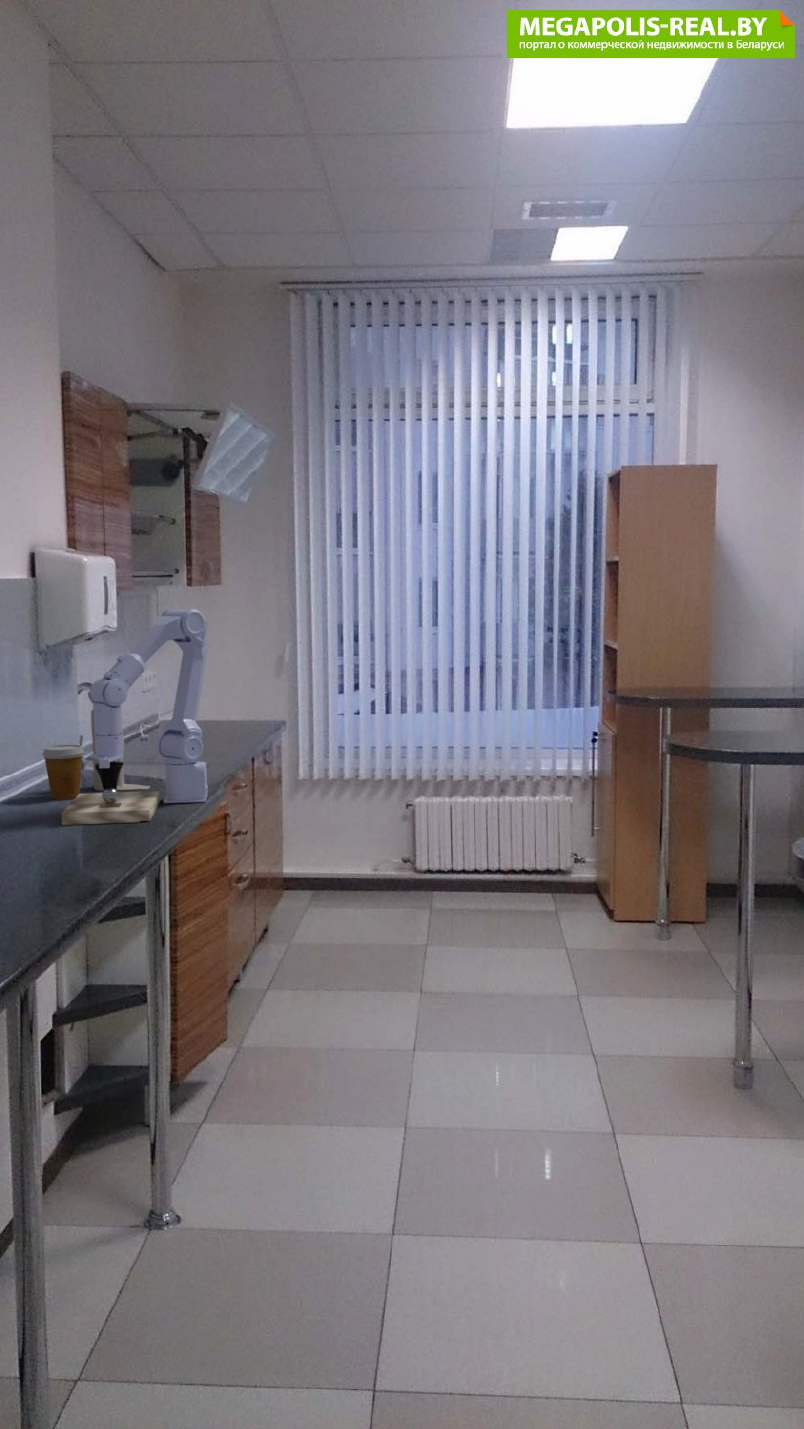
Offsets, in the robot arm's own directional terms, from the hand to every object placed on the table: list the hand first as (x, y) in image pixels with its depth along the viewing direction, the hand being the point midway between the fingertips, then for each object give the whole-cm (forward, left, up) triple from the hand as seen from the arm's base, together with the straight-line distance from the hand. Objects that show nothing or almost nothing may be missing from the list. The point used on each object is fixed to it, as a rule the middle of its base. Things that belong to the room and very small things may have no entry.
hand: (110, 795), depth 249 cm
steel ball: (0, +1, 0) cm, 1 cm away
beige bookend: (+2, -32, -4) cm, 32 cm away
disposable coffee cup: (+14, -22, -4) cm, 26 cm away
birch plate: (0, -1, -4) cm, 4 cm away
